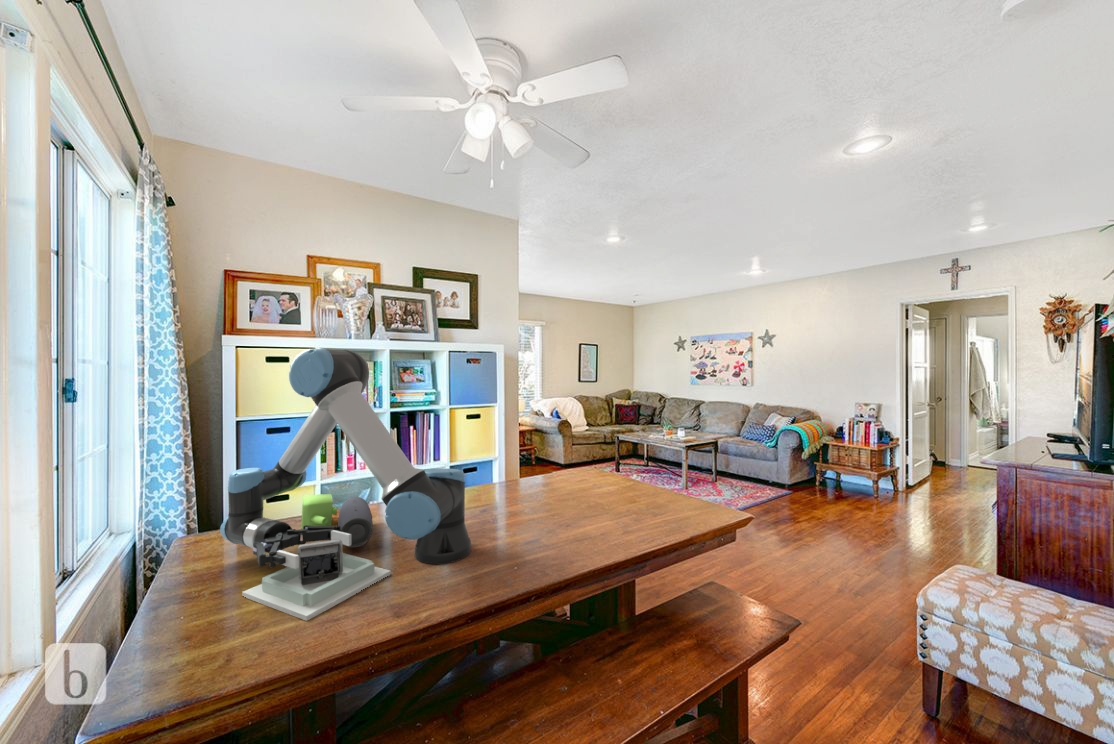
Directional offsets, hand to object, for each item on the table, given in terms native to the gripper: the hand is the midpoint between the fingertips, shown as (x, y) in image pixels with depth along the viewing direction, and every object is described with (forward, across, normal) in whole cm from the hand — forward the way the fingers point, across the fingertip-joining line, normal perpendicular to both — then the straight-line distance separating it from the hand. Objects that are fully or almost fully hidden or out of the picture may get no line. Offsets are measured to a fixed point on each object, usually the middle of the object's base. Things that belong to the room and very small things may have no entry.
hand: (325, 550), depth 103 cm
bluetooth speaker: (-19, -24, -9) cm, 32 cm away
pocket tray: (-2, 0, -9) cm, 9 cm away
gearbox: (-36, -25, -9) cm, 45 cm away
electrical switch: (-2, 0, -8) cm, 8 cm away
